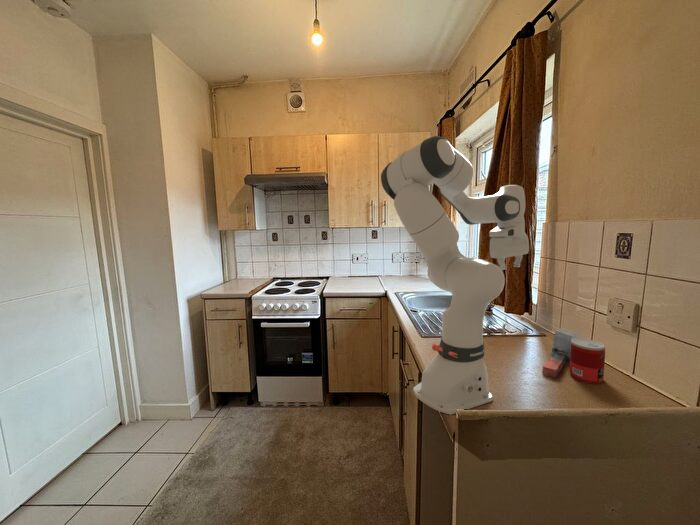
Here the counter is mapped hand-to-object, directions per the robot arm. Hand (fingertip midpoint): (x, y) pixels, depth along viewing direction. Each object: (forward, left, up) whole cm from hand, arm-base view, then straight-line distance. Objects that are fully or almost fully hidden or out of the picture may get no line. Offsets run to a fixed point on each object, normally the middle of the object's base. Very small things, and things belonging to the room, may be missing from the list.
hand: (510, 268), depth 105 cm
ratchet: (+1, -16, -31) cm, 35 cm away
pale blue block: (+8, -15, -28) cm, 33 cm away
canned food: (-2, -25, -31) cm, 40 cm away
